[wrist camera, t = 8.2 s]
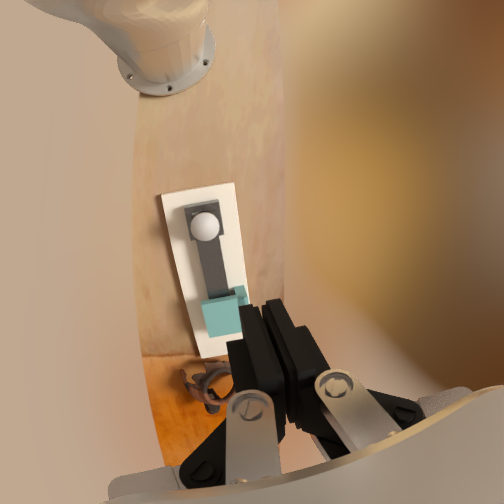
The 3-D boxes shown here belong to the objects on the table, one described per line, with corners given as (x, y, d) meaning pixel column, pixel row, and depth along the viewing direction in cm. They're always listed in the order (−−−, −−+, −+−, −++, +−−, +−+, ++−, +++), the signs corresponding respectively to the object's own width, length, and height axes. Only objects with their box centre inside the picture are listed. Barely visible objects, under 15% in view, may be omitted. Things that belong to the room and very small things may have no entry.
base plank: (161, 193, 36) (157, 202, 32) (232, 181, 38) (238, 188, 33) (201, 354, 48) (203, 376, 43) (254, 344, 49) (261, 365, 44)
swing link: (184, 205, 36) (183, 208, 35) (217, 199, 37) (218, 201, 35) (212, 330, 45) (213, 336, 43) (239, 325, 45) (241, 330, 44)
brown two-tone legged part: (172, 356, 48) (193, 376, 41) (218, 341, 53) (243, 356, 47) (185, 408, 49) (206, 430, 43) (226, 391, 55) (249, 409, 48)
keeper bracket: (200, 292, 42) (201, 304, 39) (243, 284, 43) (247, 296, 40) (207, 324, 44) (209, 338, 41) (248, 317, 45) (252, 330, 42)
